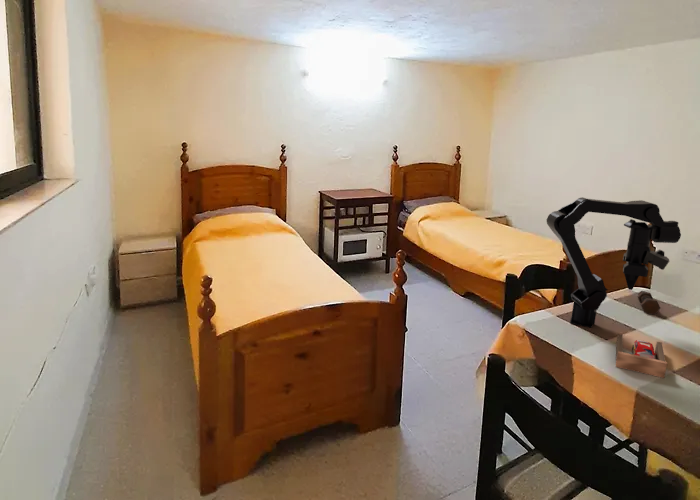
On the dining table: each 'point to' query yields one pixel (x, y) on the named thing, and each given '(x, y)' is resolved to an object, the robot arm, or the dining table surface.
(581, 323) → the robot arm
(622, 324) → the dining table surface
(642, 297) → the bolt
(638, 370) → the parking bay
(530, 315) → the dining table surface
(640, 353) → the race car
